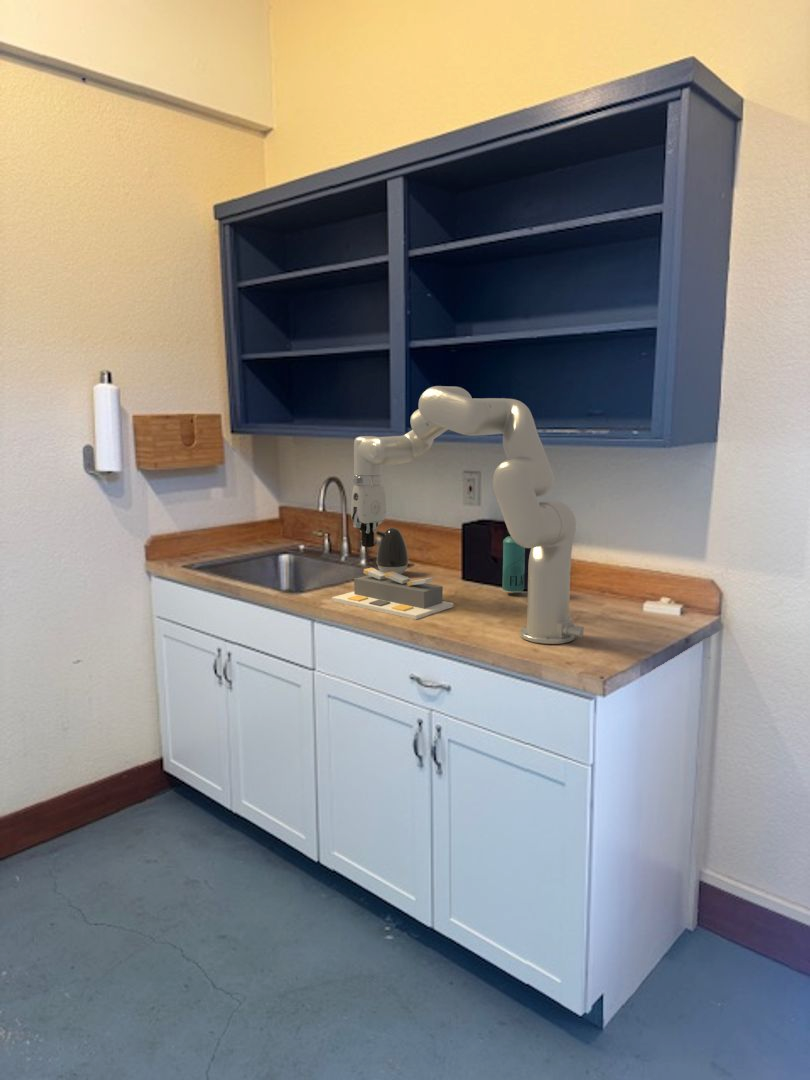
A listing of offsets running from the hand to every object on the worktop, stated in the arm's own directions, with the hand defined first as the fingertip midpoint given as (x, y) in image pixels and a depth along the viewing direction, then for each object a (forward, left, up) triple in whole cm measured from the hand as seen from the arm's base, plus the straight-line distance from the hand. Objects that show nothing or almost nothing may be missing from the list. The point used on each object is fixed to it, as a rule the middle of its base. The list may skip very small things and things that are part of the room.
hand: (367, 546), depth 213 cm
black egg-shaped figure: (+13, -25, -15) cm, 32 cm away
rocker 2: (-19, 0, -8) cm, 20 cm away
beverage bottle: (-31, -27, -15) cm, 44 cm away
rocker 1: (-3, 0, -8) cm, 8 cm away
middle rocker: (-11, 0, -8) cm, 13 cm away
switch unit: (-11, +3, -14) cm, 18 cm away
